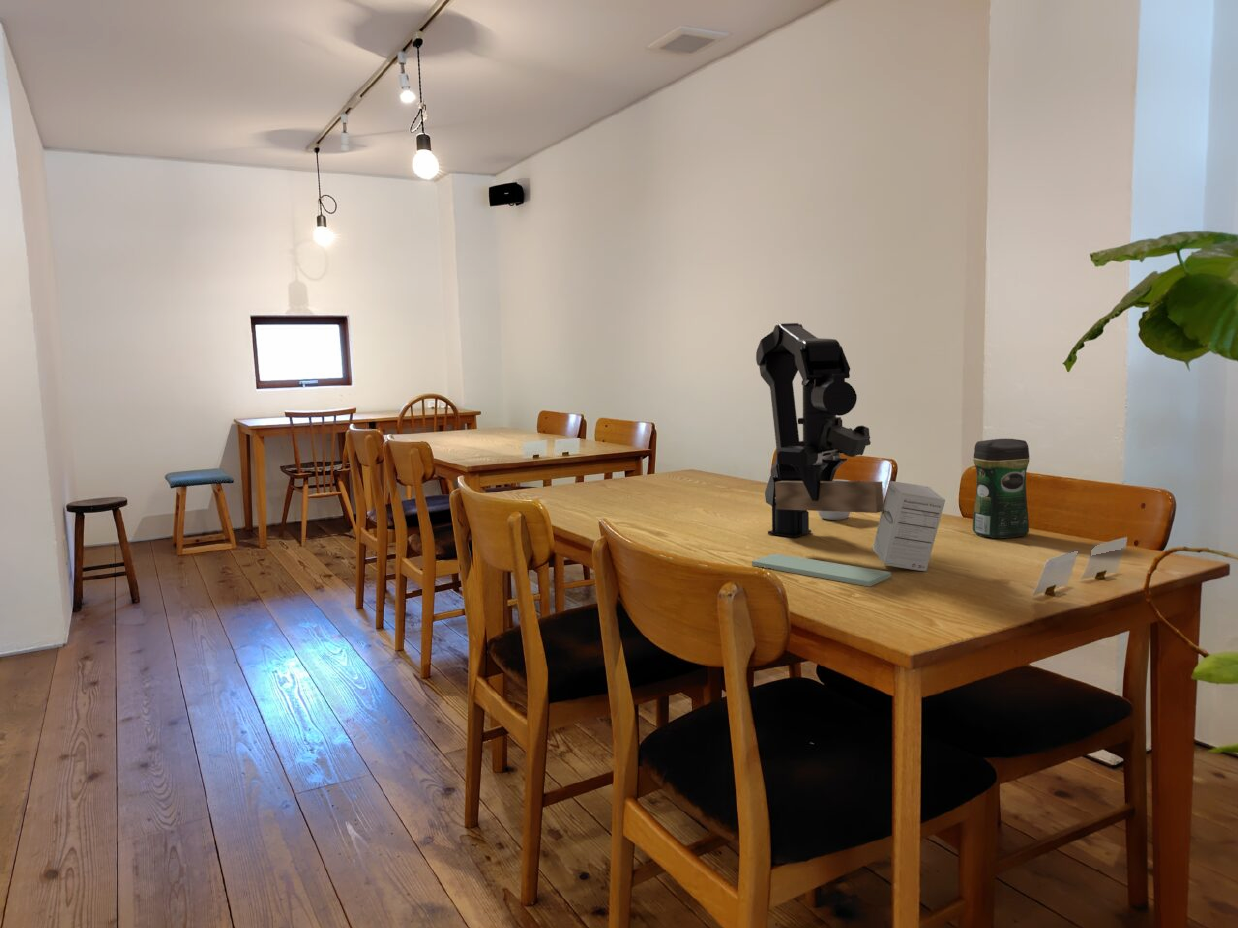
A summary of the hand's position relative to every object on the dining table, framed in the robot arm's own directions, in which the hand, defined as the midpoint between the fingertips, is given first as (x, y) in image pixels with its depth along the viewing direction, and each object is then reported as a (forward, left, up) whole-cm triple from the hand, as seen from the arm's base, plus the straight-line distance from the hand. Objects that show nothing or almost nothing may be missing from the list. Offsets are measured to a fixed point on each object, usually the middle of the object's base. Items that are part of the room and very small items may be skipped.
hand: (819, 499), depth 149 cm
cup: (-14, +30, -10) cm, 35 cm away
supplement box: (+15, 0, -9) cm, 17 cm away
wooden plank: (+2, 0, -2) cm, 2 cm away
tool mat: (+6, -10, -10) cm, 15 cm away
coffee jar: (+19, +34, -10) cm, 40 cm away
